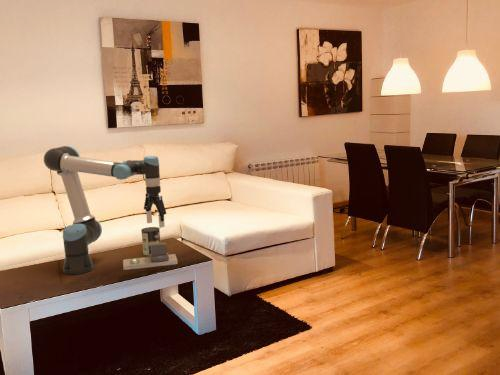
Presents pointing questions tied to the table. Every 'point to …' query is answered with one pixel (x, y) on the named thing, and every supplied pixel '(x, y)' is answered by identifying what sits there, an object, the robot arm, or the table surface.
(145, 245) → the coffee can
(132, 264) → the base plate
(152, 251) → the wing knob
